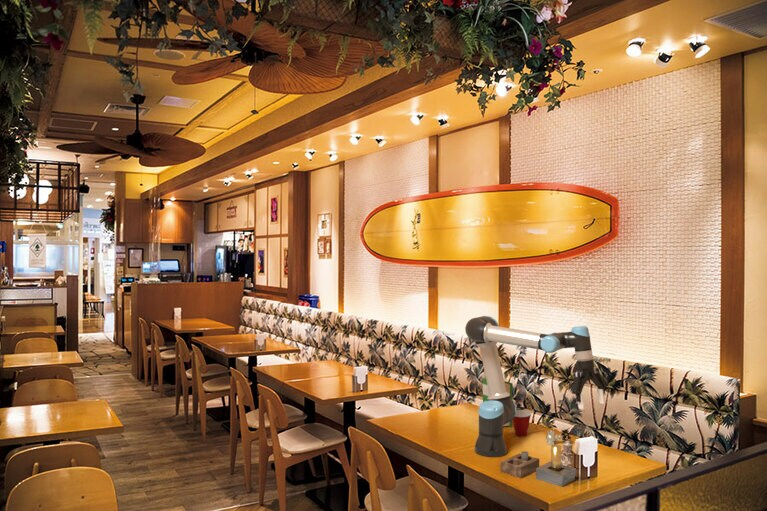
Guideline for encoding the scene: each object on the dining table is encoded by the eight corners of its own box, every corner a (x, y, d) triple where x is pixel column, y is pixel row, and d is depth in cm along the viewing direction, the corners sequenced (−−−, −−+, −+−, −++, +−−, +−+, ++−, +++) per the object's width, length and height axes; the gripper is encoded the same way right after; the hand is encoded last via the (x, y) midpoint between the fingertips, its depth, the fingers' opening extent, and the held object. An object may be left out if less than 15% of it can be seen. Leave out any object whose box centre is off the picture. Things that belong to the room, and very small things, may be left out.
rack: (500, 472, 259) (500, 456, 259) (519, 463, 271) (519, 447, 271) (520, 478, 252) (521, 461, 252) (539, 468, 264) (539, 453, 264)
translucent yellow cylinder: (549, 479, 252) (549, 445, 252) (553, 476, 255) (554, 443, 255) (558, 481, 249) (558, 448, 249) (562, 479, 252) (563, 446, 252)
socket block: (536, 478, 252) (536, 468, 252) (549, 471, 260) (549, 461, 260) (562, 486, 243) (562, 475, 244) (575, 479, 252) (575, 468, 252)
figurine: (557, 468, 265) (557, 441, 265) (561, 463, 271) (562, 437, 271) (573, 471, 262) (574, 444, 262) (577, 466, 268) (578, 440, 268)
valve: (551, 446, 296) (570, 444, 300) (551, 433, 296) (571, 431, 300) (543, 442, 302) (562, 440, 306) (543, 429, 302) (562, 427, 306)
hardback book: (511, 426, 329) (512, 383, 330) (500, 428, 326) (501, 384, 326) (492, 418, 345) (493, 377, 346) (482, 420, 342) (483, 378, 342)
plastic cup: (505, 433, 317) (506, 411, 317) (521, 431, 322) (522, 408, 322) (519, 439, 307) (519, 416, 307) (535, 436, 312) (535, 413, 312)
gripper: (571, 364, 266) (579, 412, 264) (609, 355, 278) (616, 401, 276) (559, 363, 272) (566, 410, 270) (596, 355, 285) (603, 400, 283)
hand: (592, 406), depth 273 cm, fingers open, 13 cm apart
